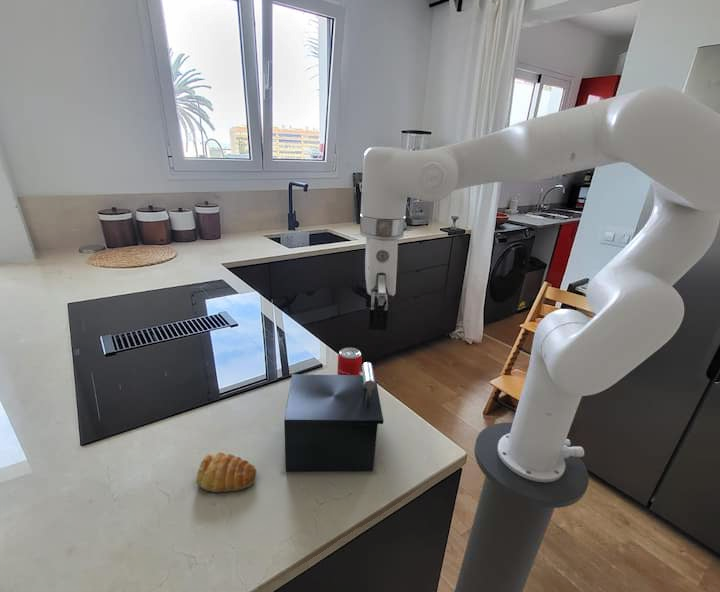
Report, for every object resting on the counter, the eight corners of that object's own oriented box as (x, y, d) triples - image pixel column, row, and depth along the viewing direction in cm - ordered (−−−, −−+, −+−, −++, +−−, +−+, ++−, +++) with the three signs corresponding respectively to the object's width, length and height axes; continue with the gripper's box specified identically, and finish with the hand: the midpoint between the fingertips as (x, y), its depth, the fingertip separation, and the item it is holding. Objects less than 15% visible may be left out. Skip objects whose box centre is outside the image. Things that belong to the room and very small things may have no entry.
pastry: (261, 466, 70) (260, 450, 68) (249, 498, 64) (247, 481, 62) (209, 461, 70) (207, 445, 69) (193, 492, 64) (190, 476, 63)
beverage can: (363, 400, 89) (366, 355, 84) (343, 407, 87) (345, 361, 82) (351, 389, 93) (354, 344, 88) (332, 395, 91) (334, 350, 86)
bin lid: (375, 378, 78) (377, 351, 76) (383, 424, 66) (386, 393, 63) (291, 377, 77) (291, 350, 74) (284, 423, 65) (283, 392, 62)
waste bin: (367, 421, 83) (370, 378, 78) (373, 471, 71) (377, 424, 66) (292, 421, 82) (291, 377, 77) (285, 472, 69) (284, 423, 65)
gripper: (411, 239, 59) (400, 339, 66) (397, 217, 74) (390, 301, 82) (361, 237, 58) (356, 338, 66) (358, 216, 74) (354, 299, 81)
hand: (375, 317), depth 74 cm, fingers open, 9 cm apart
